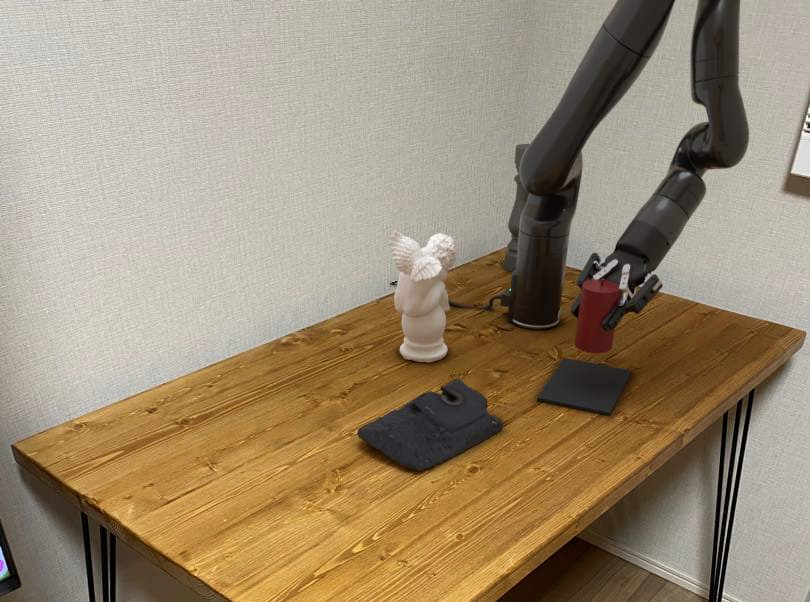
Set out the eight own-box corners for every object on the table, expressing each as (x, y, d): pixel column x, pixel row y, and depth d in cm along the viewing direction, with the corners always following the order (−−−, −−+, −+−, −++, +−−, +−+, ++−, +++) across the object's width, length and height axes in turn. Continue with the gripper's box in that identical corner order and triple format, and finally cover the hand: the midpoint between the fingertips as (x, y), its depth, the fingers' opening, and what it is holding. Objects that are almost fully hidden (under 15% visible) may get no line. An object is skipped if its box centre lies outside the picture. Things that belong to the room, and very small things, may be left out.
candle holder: (533, 272, 193) (546, 150, 179) (505, 272, 193) (515, 149, 179) (530, 263, 198) (543, 143, 184) (503, 262, 198) (513, 143, 184)
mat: (536, 400, 144) (537, 397, 143) (563, 361, 156) (564, 357, 156) (609, 415, 140) (610, 412, 140) (631, 373, 153) (632, 370, 152)
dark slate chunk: (340, 440, 132) (340, 412, 129) (437, 393, 145) (439, 366, 142) (416, 479, 124) (417, 449, 121) (512, 425, 137) (515, 397, 134)
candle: (570, 349, 143) (578, 282, 136) (579, 336, 147) (588, 270, 141) (607, 356, 141) (617, 288, 134) (615, 342, 145) (625, 276, 139)
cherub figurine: (445, 340, 163) (451, 218, 150) (467, 368, 153) (475, 240, 140) (381, 346, 160) (382, 222, 147) (399, 375, 150) (402, 246, 137)
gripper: (608, 208, 141) (547, 296, 142) (680, 230, 132) (614, 324, 133) (626, 236, 147) (566, 320, 148) (696, 259, 138) (632, 349, 139)
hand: (589, 321), depth 140 cm, fingers closed on candle, 6 cm apart
